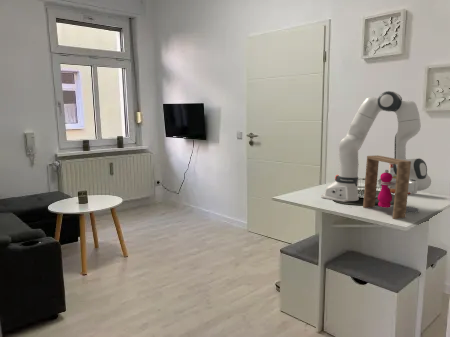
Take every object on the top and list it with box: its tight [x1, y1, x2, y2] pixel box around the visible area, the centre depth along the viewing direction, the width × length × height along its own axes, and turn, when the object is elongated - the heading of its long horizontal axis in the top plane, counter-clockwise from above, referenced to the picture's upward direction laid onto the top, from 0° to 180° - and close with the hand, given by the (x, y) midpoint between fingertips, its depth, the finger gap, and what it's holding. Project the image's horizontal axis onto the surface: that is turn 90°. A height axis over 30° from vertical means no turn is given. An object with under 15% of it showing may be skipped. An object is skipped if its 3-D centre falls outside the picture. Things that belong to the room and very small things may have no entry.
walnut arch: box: [362, 155, 411, 220], centre depth 199 cm, size 8×23×30 cm, turn 20°
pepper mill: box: [377, 169, 393, 209], centre depth 199 cm, size 7×7×20 cm
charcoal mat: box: [406, 205, 420, 214], centre depth 207 cm, size 11×11×1 cm
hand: (384, 185), depth 198 cm, fingers closed on pepper mill, 5 cm apart
